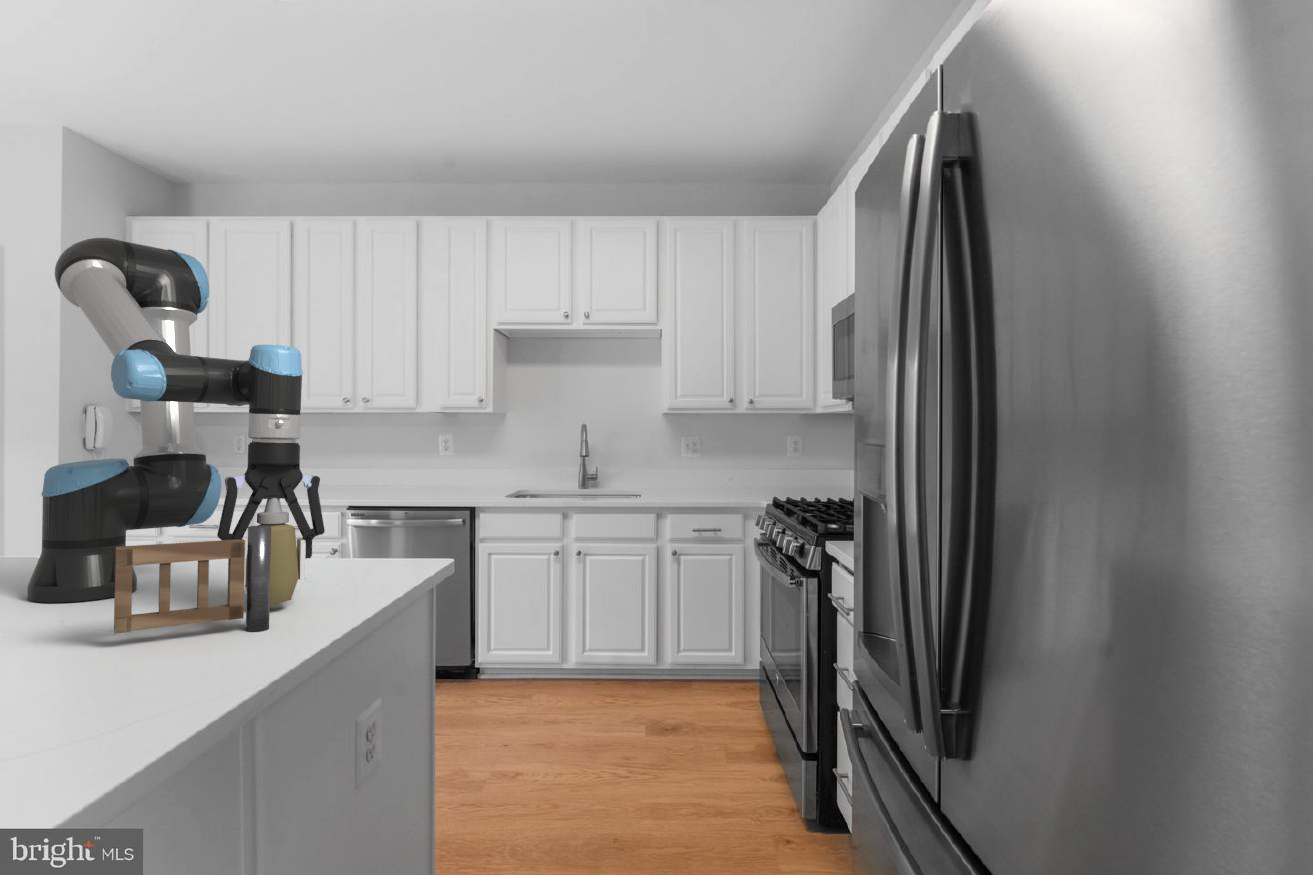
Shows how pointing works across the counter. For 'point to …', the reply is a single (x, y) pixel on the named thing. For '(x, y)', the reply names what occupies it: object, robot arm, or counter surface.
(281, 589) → the squeeze bottle
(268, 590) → the gate post
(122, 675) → the counter surface
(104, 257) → the robot arm
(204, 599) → the gate
